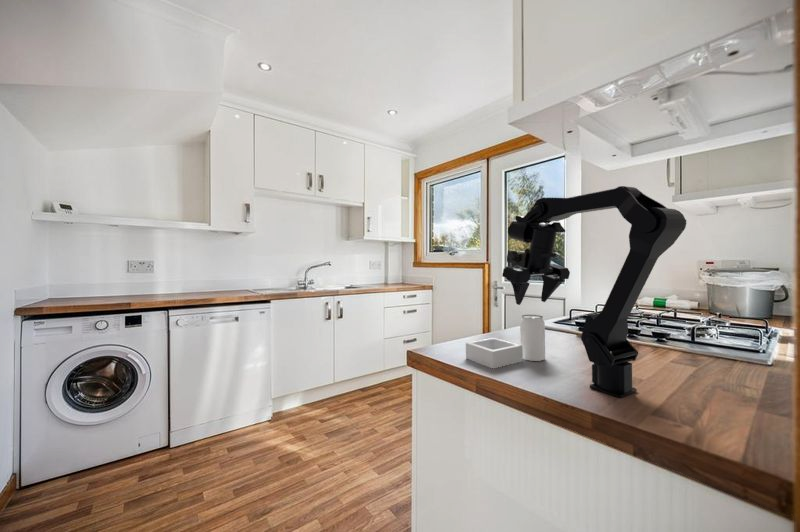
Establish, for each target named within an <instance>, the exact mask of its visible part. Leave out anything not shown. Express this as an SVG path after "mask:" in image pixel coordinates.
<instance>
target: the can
mask: <svg viewBox="0 0 800 532" xmlns="http://www.w3.org/2000/svg"><path fill="white" fill-rule="evenodd" d="M543 317H544V316H542V315H540V314H522V315H521V319H520V321H519V332H520V336H519V338H520V341H519V345H523V360H524V359H525V361H527V360H529V361H528V362H533V361H539V362H543V361H545V359H546V325H545V323H546V322H545V320H544V318H543ZM542 360H543V361H542Z"/></svg>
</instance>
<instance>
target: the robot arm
mask: <svg viewBox="0 0 800 532" xmlns="http://www.w3.org/2000/svg"><path fill="white" fill-rule="evenodd" d="M610 209H617V210H618V212H619V213H620V215H621V217H622V218H623V219H624V220H625V221H626V222H628V223H629V224H630V225H631V226H630V228H629V234H628V240H629V241H628V244H629V252H628V254H627V256H626V258H625V259H624V263H623V265H622V266H621V268H620V271H619V273H618V275H617V278H616V279H615V282H614V284H613V286H612V288H611V291H610V293H609V294H608V297H607V299H606V301H605V304H604V306H603V307H602V310H601V311H600V312H599V313H594V314H588V315H586V318H585V320H584V325H583V326H582V327H581V328H580V330H579V331H580V332H581V334H580V341H582V344H583V347H584V348H585V352H586V355H587V358H588V361H589V362H591V363H593V364H592V365H591V382H592V384H589V388H590V389H593V390H596V391H599V392H602V393H604V394H607V395H610V396H611V395H612V396H614V397H617V398H623V397H625V396H629V395H631V394H633V393H635V392H638V391H637V388H635V387H633V363H631V362H634V361H636V360H637V357H638V355H639V351H638V350H637V349H636V347H634V345H633V344H632V343H631V342H630V341H629V340H628V339H627V338H628V334H629V325H628V324H629V323H628V319H629V317H630V314H631V313H632V310H633V308H634V306H635V305H636V302H637V301H638V298H639V296H640V295H641V293H642V291H643V290H644V289H643V288H644V287H645V285H646V282H647V281H648V279H649V277H650V275H651V273H652V270H654V267H655V265H656V263H657V260H658V259H659V258H660V257H661V256H662V255H663V254H664V253H665V252H666V251H667V250H668V249H669V248H671V247H672V246H674V244H675V243H676V241H677V240H678V239H679V237H680V236H681V235H682V233H683V232H684V230H685V229H686V227H687V219H686V218H685V216H684V214H683V213H682V212H681V211H680V210H677V209H675V208H669V207H666V206H665V205H664V204H662V203H661V202H659V201H656V200H655V199H653V198H651V197H650V196H648V195H646V194H644V193H643V192H642V191H641V190H639V189H638V188H637V187H634V186H625V185H622V186H617V187H615V188H611V189H606V190H600V191H595V192H589V193H586V194H581V195H580V194H579V195H574V196H570V197H538V198H537V199H536V200H535V202H534V205H533V206H532V207H531V208H530V209H529V210H528V212H527V213H526V214H525V215H516V216H515V219H514V220H512V221H511V222H510V224H509V226H508V228H507V234H508V237H509V238H510V239H512V240H514V241H519V242H522V243H526V244H530V245H529V247H528V248H526V247H525V250H524V251H523V253H518V252H517V250H516V251H515V250H513V251H508V252H507V256H506V262H507V263H508V264H510V265H509V266H508V265H507V266H505V267H504V268H503V269H502V276H501V277H503V278H505V279H506V280H507V281H509V282H510V284H511V286H512V289H513V293H514V298H515V303H516V305H519V306H520V305H521V304H522V302H523V300H524V298H525V296H526V294H527V291H528V289H529V286H530V284H531V283H530V282H529V281H530V280H531V277H539V276H540V277H541V279H542V281H543V284H542V289H541V299H540V300H541V302H543V303H545V302H547V300H548V299H549V298H550V297H551V295H553V293H554V292H555V291H556V290H557V289H559V287H560V285H561V284H562V283H565V281H566V280H569V278H570V273H571V272H570V269H569V268H568V267H565V266H563V265H560V264H556V263H552V258H556V257H557V252H554V248H555V244H556V239H557V234H558V233H560V234H561V233H563V234H564V233H566V229H565V228H564V227H563V226H562V224H561V222H559V221H563V220H565V219H568V218H570V217H572V216H573V215H574V216H575V215H576V214H577V215H578V214H583V213H589V212H596V211H603V210H610Z"/></svg>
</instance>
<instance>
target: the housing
mask: <svg viewBox="0 0 800 532" xmlns="http://www.w3.org/2000/svg"><path fill="white" fill-rule="evenodd" d="M465 359H466V360H469V361H472V362H474V363H477V364H479V365H481V366H484V367H488V368H490V369H492V368H493V369H492V370H495V369H499V368H502V366H503V367H507V366H511V365H514V363H515V364H518V363H517V362H519V363H522V362H521V361H523V362H524V359H523V345H520V343H515V342H512V341H508V340H504V339H500V338H497V337H489V338H485V339H480V340H479V339H478V340H474V341H468V342H465ZM510 364H511V365H510ZM506 365H507V366H506ZM498 367H499V368H498ZM494 368H495V369H494Z"/></svg>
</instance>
